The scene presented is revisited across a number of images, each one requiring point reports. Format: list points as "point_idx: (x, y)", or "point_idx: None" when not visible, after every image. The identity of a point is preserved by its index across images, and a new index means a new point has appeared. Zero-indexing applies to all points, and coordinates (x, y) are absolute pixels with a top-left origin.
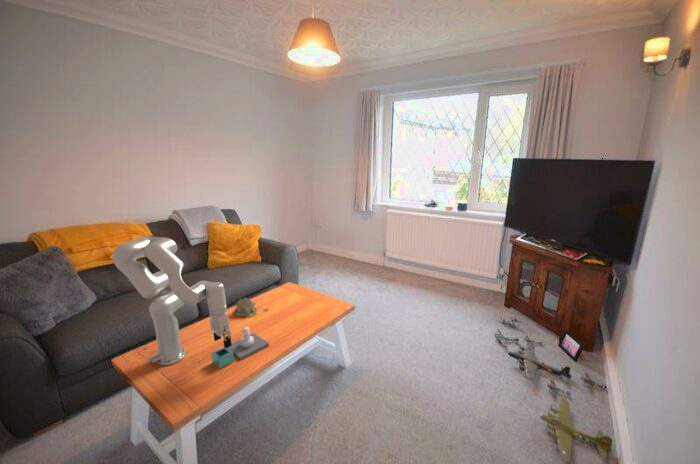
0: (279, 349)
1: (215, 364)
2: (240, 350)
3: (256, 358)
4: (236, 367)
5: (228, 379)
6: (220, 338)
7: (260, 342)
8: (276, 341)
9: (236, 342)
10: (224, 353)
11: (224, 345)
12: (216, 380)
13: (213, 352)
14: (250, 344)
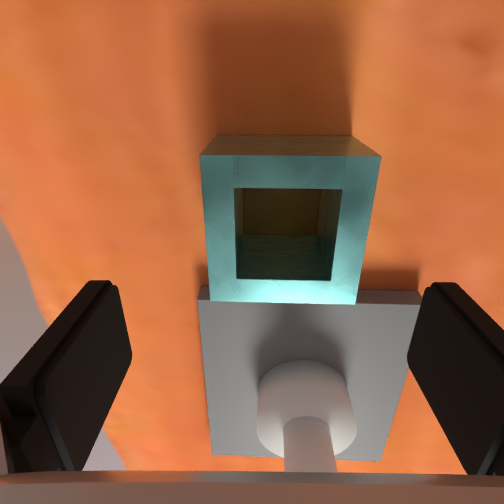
0: (142, 445)
1: (293, 136)
2: (276, 339)
3: (148, 350)
4: (141, 231)
5: (31, 117)
6: (408, 352)
7: (255, 437)
8: (220, 468)
9: (391, 367)
10: (323, 251)
11: (67, 310)
12: (74, 30)
13: (368, 177)
14: (257, 408)
